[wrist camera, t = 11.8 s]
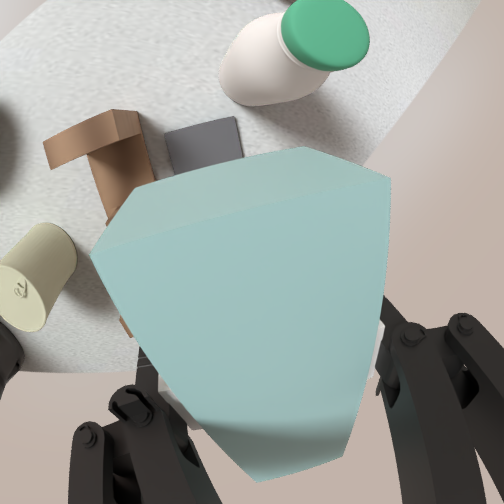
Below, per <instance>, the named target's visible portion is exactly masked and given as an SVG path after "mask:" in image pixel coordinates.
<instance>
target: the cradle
mask: <svg viewBox="0 0 504 504" xmlns="http://www.w3.org/2000/svg"><path fill="white" fill-rule="evenodd" d="M43 145H44V149H45V152H46V156H47V159H48V163H49V166H50V169H51V170H52V169H54V168H56V167H59V166H61V165H63V164H65V163H67V162H69V161H72V160H74V159H76V158H78V157H81V156H83V155H86V154H87V157H88V161H89V164H90V167H91V171H92V174H93V177H94V180H95V183H96V186H97V189H98V192H99V195H100V198H101V200H102V203H103V206H104V209H105V211H106V214H107V217H108V220H107V222H106V226H108V225H109V223H110V222H111V220H112V219H113V218H114V216H115V215H116V213H117V212H118V210H119V209H120V208H121V206H122V205H123V203H124V202H125V201H126V199H127V198H128V197H129V195H130V194H131V193H132V191H133V190H134V189H135V188H136V187H139V186H142V185H146V184H149V183H152V182H155V181H156V180H155V177H154V173H153V170H152V166H151V163H150V159H149V156H148V152H147V149H146V145H145V141H144V137H143V133H142V130H141V126H140V122H139V117H138V113H137V111H128V110H116V109H111V110H109V111H106V112H104V113H101V114H99V115H97V116H94V117H92V118H90V119H87V120H85V121H83V122H81V123H79V124H77V125H75V126H72V127H70V128H68V129H66V130H64V131H62V132H60V133H59V134H57V135H55V136H53V137H51V138H49V139H47V140H46V141H44V142H43ZM119 321H120V323H121V324H122V326H123V327H124V329H125V331H126V332H127V334H128V335H129V337H130V338H132V337H134V336H133V334H132V333H131V331H130V330H129V328H128V326H127V325H126V323H125V321H124V320H123V318H122V316H120V320H119Z"/></svg>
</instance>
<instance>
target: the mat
mask: <svg viewBox="0 0 504 504" xmlns="http://www.w3.org/2000/svg"><path fill="white" fill-rule="evenodd" d="M164 135H165V139H166V142H167V146H168V150H169V154H170V158H171V161H172V165H173V169H174V173H175V175H178V174H182V173H185V172H189V171H193V170H196V169H200V168H204V167H208V166H212V165H216V164H220V163H224V162H228V161H232V160H237V159H241V158H243V156H242V151H241V146H240V142H239V137H238V132H237V127H236V122H235V117H234V116H232V117H227V118H223V119H218V120H214V121H209V122H205V123H201V124H197V125H193V126H190V127H186V128H182V129H178V130H175V131H171V132H168V133H165V134H164Z"/></svg>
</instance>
